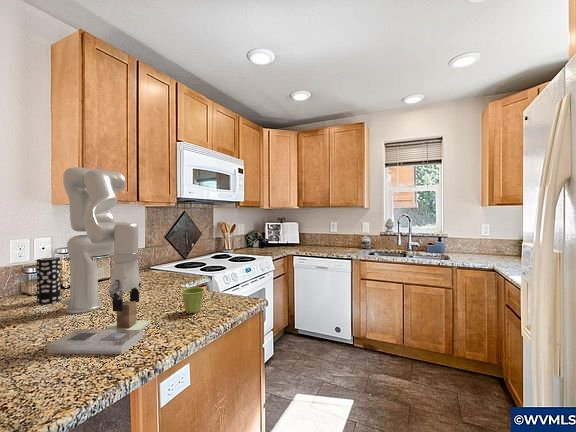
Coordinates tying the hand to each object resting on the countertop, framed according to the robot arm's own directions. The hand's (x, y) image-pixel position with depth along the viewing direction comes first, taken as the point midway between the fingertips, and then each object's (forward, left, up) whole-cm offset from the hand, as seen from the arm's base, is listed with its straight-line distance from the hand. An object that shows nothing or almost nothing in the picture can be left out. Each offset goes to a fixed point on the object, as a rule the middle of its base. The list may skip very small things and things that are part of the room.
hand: (126, 306), depth 100 cm
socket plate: (-1, -13, -8) cm, 15 cm away
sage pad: (0, 0, -8) cm, 8 cm away
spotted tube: (-55, +29, -8) cm, 63 cm away
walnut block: (0, 0, -7) cm, 7 cm away
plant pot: (+17, +18, -8) cm, 26 cm away
